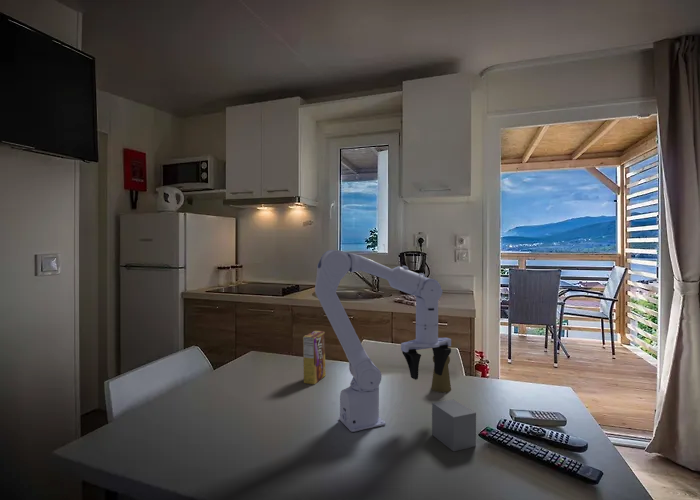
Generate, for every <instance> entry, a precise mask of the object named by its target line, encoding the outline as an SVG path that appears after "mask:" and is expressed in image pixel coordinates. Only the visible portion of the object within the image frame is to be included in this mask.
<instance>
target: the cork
mask: <svg viewBox="0 0 700 500" xmlns="http://www.w3.org/2000/svg"><path fill="white" fill-rule="evenodd" d="M432 361H433V363H434V354H433V356H432ZM450 361H451V358H450V355H449V356H448V358H447V360H446V362H445V365H444V368H443V372H442V375H438V374H436V373H435V370H434V369H433V371H432V372H433V374H432V378H431V379H432V380H431V386H430V389H431V390H432V391H434V392H438V393H449V392H451V391H452V386H451V379H450V378H451V377H450V368H449V364H450V363H451V362H450Z"/></svg>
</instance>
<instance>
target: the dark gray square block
mask: <svg viewBox="0 0 700 500" xmlns="http://www.w3.org/2000/svg"><path fill="white" fill-rule="evenodd" d="M431 416H432V417H431V435H432V436H433V437H435V438H436V439H437V440H438V441H439V442H441V443H442V444H443V445H444V446H446V447H447V448H448V449H450V450H451V451H453V452H457V451H461V450H465V449H469V448H474V447H477V412H476V411H474V410H472V409H470V408H469V407H467V406H465V404H462V403H461V402H459V401H457V400H455V399H449V400H448V399H447V400H441V401H436V402H432V404H431Z"/></svg>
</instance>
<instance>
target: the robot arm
mask: <svg viewBox="0 0 700 500" xmlns="http://www.w3.org/2000/svg"><path fill="white" fill-rule="evenodd" d="M348 272H350V273H355V272H356V273H357V272H363V273H367V274H369V275H372V276H375V277H379V278H381V279H384V280H386V281H387V282H388V284H389V286H390V288H393V289H395V290H397V291H401V292H403V293H405V294H409V295H410V296H411V295H412V296H414V297H415V339H413V340H408V341H405V342H401V343H400V351H401V352H402V355H403V357H404V359H405V361H406V363H407V366H408V371H409V374H410V377H411V379H413V380H414V381H417V380H418V379H419V367H420V366H419V365H420V359H421V357H422V354H421V353H418V350H427V349H431V350H432V353H433V355H434V362H433V365H434V366H433V371H434V370H435V373H436V374H438V375H442V372H443V368H444V365H445V362H446V360H447V358H448V356H449V357H450V355H451V353H452V348H450V347H452V338H449V337H439V300H440V298H441V297H442V295H443V293H444V292H443V291H444V289H442V286H441V283H439V281H438V280H437V279H435V278H430V277H426V276H425V273H423V272H419V273H418V272H415V271H412V270H410V269H409V267H408V266H406V265H402V266H401V265H398V266H396V267H393V268H390V267H388V266H386V265H384V264H381V263H380V262H376V261H374V260H372V259H369V258H368V257H365V256H363V255H359V254H356V253H351V252H345V251H343V250H339V249H337V250H336V249H328V250H327V251H325V252H324V253H323V254H322V255H321V256H320V259H319V261H318V262H317V266H316V276H315V277H316V278H315V283H314V285H315V286H314V293H315V296H316V297H317V300H318V301H319V303H320V305H321V307H322V309H323V311H324V313H325V316H326V317H327V319H328V321H329V323H330V325H331V327H332V329H333V332H334V333H335V335H336V337H337V340H338V342H339V343H340V345H341V347H342V349H343V352H344V353H345V357H346V359H347V360H348V363H349V368H348V369H349V373H350V374H351V376H353V377H352V379H351V381H350V385H349V386H348V387H347V388H344V389H342V390H341V391H340V393H339V394H340V395H339V417H338V420H339V421H340V422H341V423H342V424H343V425H344V426H345V427H346V428H347V429H348V431H350V432H352V433H354V432H358V431H362V430H363V431H364V430H368V429H372V428H376V427H380V426H385V425H386V424H387V423H386V421H385V420H384V419H382V418H381V417H380V384H381V381H382V378H383V377H382V373H381V372H382V371H381V370H380V368H378V367H377V366H376V365H375V364H374V362H373V361H372V359H371V358H370V357H369V355H368V354H367V351H366V350H365V348H364V346H363V345H362V342H361V340H360V339H359V336H358V334H357V333H356V329H355V328H354V326H353V324H352V322H351V320H350V318H349V316H348V314H347V312H346V310H345V308H344V306H343V304H342V302H341V300H340V298H339V296H338V294H337V290H338V288H339V285H340V283H341V281H342V279H344V277H346V274H347V273H348Z"/></svg>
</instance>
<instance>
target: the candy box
mask: <svg viewBox="0 0 700 500" xmlns="http://www.w3.org/2000/svg"><path fill="white" fill-rule="evenodd" d="M325 334H326V332H325V331H323V330H313V331H312V332H310V333H307V334H305V335H304V336H302V344H303V347H302V349H303V350H302V351H303V353H302V354H303V359H302V360H303V383H304V384H309V385H316V384H317V383H319V382H320V381H321V380H322V379H323V378H325V376H326V372H327V371H326V342H325V341H326V339H325Z"/></svg>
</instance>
